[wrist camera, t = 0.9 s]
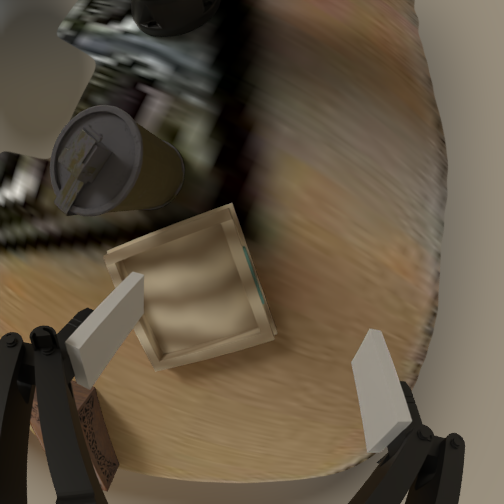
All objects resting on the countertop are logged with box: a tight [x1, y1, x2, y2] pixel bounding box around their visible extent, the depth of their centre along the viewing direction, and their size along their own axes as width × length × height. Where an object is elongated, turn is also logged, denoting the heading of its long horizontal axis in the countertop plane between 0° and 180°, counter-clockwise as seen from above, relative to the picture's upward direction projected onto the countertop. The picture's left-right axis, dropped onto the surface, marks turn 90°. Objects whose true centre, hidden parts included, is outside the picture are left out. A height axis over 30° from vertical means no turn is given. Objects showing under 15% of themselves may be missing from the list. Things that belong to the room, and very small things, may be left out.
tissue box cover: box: [30, 381, 119, 491], centre depth 42 cm, size 26×14×10 cm, turn 176°
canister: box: [50, 105, 185, 216], centre depth 29 cm, size 11×10×20 cm
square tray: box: [103, 203, 278, 371], centre depth 40 cm, size 20×20×4 cm
